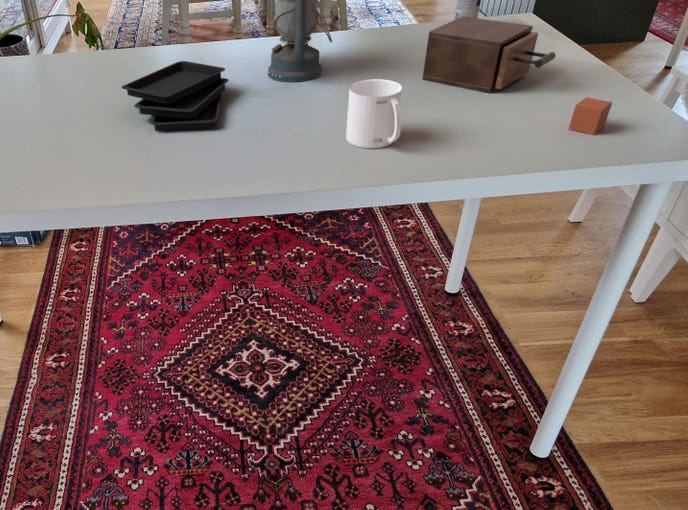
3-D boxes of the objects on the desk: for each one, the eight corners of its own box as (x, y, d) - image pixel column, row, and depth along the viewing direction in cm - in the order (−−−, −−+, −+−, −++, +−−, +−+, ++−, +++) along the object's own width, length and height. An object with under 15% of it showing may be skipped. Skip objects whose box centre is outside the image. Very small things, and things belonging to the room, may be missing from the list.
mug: (338, 134, 122) (341, 83, 116) (381, 126, 123) (387, 76, 117) (365, 158, 113) (370, 105, 107) (412, 150, 114) (419, 97, 108)
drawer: (555, 77, 134) (567, 36, 129) (527, 94, 128) (538, 52, 123) (465, 61, 146) (472, 23, 140) (436, 76, 139) (442, 37, 134)
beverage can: (477, 35, 163) (490, -33, 153) (455, 37, 163) (467, -31, 153) (470, 29, 167) (482, -37, 157) (449, 31, 167) (459, -35, 157)
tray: (241, 127, 128) (240, 101, 125) (126, 140, 127) (121, 114, 124) (223, 80, 151) (221, 56, 147) (125, 90, 150) (121, 67, 146)
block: (604, 127, 116) (612, 102, 113) (593, 135, 114) (602, 109, 111) (578, 121, 119) (586, 97, 116) (568, 129, 116) (575, 104, 113)
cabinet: (521, 74, 139) (533, 25, 133) (489, 93, 132) (500, 42, 126) (454, 62, 148) (462, 16, 142) (422, 79, 141) (429, 31, 135)
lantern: (264, 62, 158) (263, -84, 139) (322, 58, 158) (329, -89, 138) (271, 88, 144) (270, -71, 124) (335, 84, 143) (344, -77, 123)
